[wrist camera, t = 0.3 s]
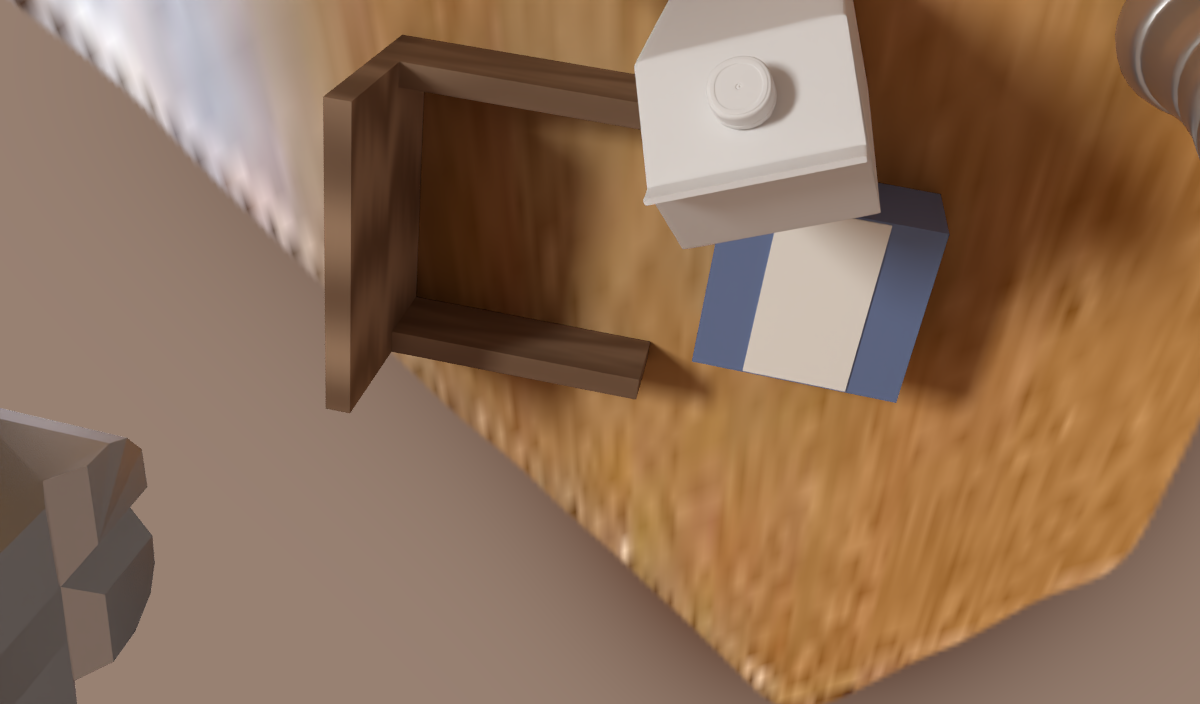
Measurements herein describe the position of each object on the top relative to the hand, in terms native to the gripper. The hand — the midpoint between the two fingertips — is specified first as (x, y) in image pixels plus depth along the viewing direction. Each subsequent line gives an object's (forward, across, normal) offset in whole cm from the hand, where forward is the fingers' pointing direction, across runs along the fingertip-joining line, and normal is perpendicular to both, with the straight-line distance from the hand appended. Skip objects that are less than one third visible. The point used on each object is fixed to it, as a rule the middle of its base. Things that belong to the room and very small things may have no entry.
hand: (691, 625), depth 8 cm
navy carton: (+47, -4, +18) cm, 51 cm away
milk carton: (+47, 0, +7) cm, 48 cm away
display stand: (+47, +10, +18) cm, 51 cm away
